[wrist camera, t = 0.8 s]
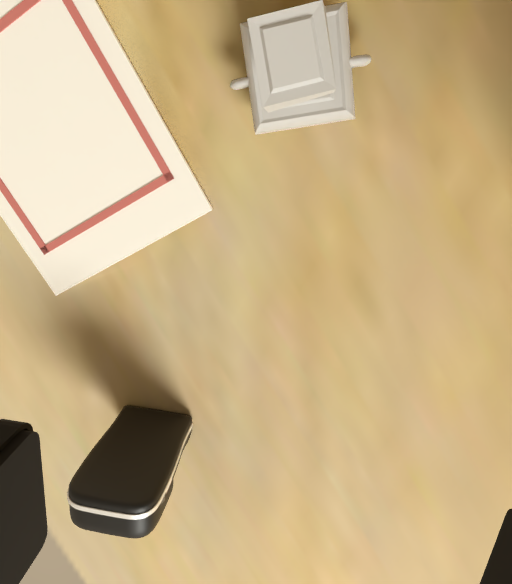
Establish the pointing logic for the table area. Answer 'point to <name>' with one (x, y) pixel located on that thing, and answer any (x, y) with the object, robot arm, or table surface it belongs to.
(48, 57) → the paper sheet
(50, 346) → the table surface
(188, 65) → the table surface
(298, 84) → the stamp
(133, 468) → the battery charger
